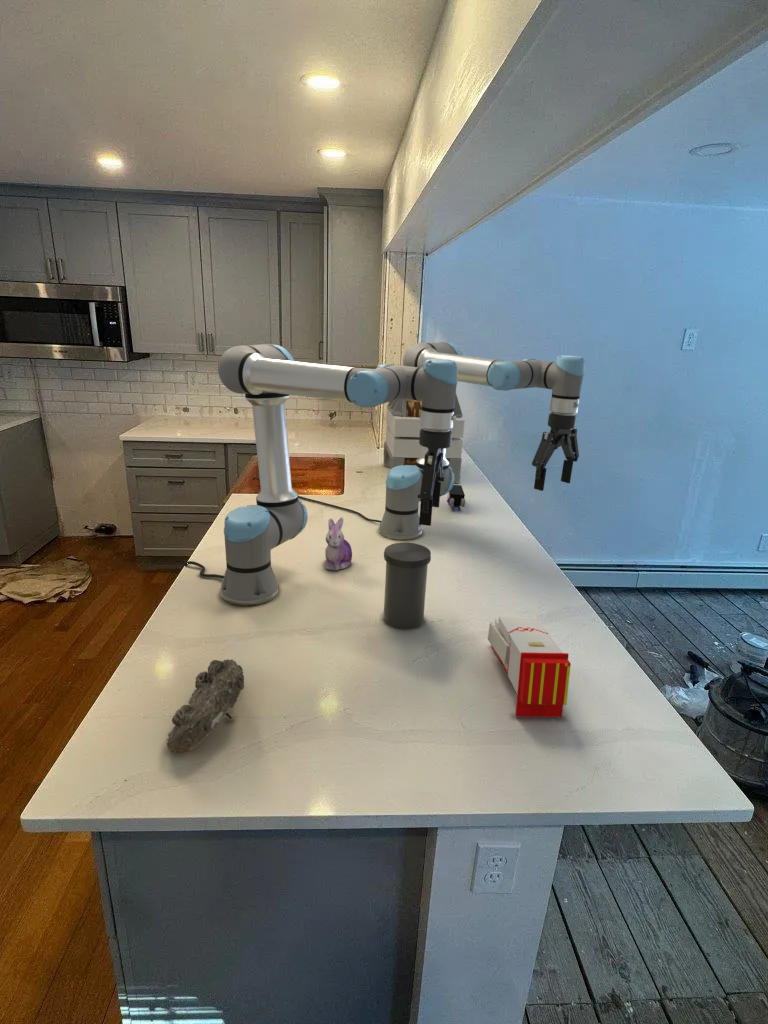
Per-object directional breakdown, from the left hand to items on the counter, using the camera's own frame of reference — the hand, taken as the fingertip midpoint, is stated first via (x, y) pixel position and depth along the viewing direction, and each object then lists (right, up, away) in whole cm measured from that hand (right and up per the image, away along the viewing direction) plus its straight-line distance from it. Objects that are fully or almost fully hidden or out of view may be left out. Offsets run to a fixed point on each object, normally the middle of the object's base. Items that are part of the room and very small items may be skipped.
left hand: (429, 515), depth 138 cm
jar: (-6, -27, +7) cm, 28 cm away
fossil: (-44, -38, -30) cm, 65 cm away
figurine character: (+18, +3, +92) cm, 94 cm away
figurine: (-25, -16, +36) cm, 46 cm away
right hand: (+38, +8, +27) cm, 48 cm away
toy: (+19, -35, -14) cm, 42 cm away
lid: (-5, -9, +1) cm, 11 cm away
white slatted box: (+6, +20, +137) cm, 138 cm away
